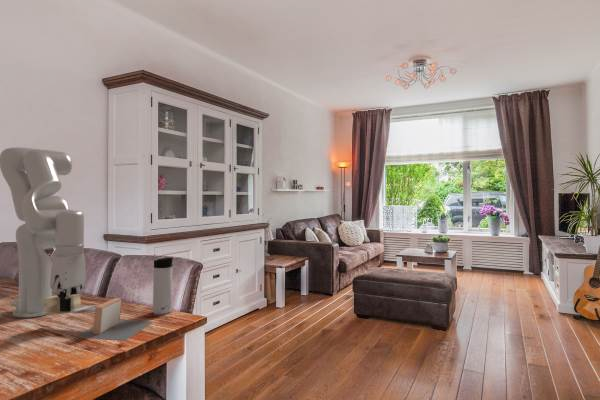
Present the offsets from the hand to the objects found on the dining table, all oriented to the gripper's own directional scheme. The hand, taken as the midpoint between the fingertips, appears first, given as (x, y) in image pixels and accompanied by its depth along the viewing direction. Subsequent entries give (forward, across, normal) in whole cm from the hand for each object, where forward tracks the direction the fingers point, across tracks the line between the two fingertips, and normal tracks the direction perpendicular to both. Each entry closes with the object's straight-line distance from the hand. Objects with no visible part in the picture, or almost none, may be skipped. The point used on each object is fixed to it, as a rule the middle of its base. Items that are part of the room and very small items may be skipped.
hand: (69, 309), depth 117 cm
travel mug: (+6, -18, +21) cm, 29 cm away
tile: (+5, 0, +12) cm, 14 cm away
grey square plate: (+6, 0, +15) cm, 17 cm away
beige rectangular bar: (+1, 0, +2) cm, 2 cm away
